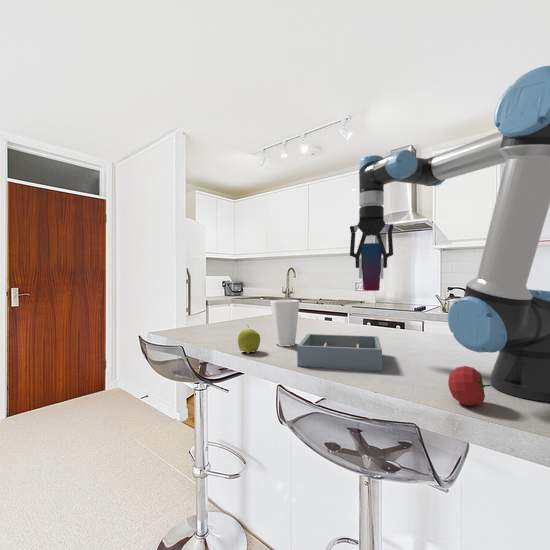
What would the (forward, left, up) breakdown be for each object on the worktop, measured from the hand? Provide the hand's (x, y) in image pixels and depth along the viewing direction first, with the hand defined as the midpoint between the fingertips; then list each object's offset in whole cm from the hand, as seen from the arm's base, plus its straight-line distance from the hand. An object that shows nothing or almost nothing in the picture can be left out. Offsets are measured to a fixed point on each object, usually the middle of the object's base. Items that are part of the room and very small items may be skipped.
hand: (371, 278), depth 106 cm
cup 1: (+13, +32, -26) cm, 43 cm away
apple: (-1, +42, -26) cm, 49 cm away
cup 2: (0, 0, -4) cm, 4 cm away
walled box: (-5, +10, -26) cm, 28 cm away
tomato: (-35, -18, -26) cm, 47 cm away
